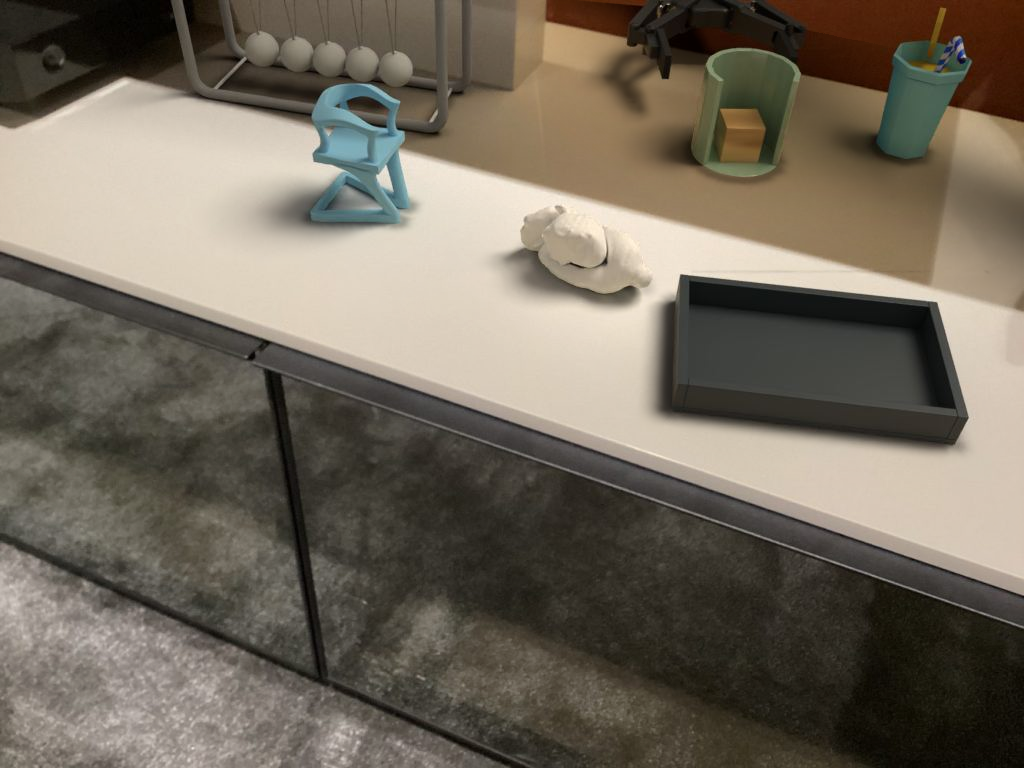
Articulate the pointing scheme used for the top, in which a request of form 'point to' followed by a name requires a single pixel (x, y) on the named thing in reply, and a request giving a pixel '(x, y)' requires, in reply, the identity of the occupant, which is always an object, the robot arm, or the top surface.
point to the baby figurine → (584, 250)
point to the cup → (920, 92)
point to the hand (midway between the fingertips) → (729, 68)
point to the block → (739, 135)
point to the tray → (815, 359)
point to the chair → (359, 155)
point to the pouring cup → (745, 104)
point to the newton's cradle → (336, 63)
